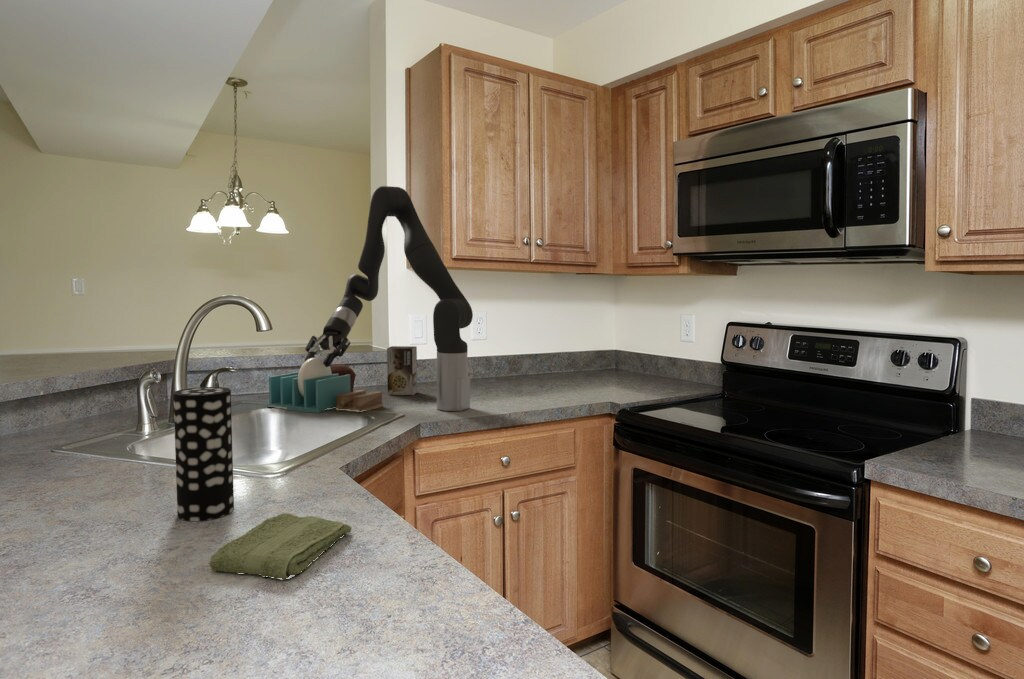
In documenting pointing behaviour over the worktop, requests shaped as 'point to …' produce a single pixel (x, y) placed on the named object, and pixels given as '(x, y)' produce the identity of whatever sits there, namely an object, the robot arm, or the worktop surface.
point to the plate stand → (359, 400)
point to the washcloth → (279, 546)
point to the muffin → (344, 373)
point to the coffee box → (402, 370)
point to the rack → (307, 392)
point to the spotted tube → (203, 453)
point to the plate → (312, 371)
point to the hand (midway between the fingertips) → (316, 364)
